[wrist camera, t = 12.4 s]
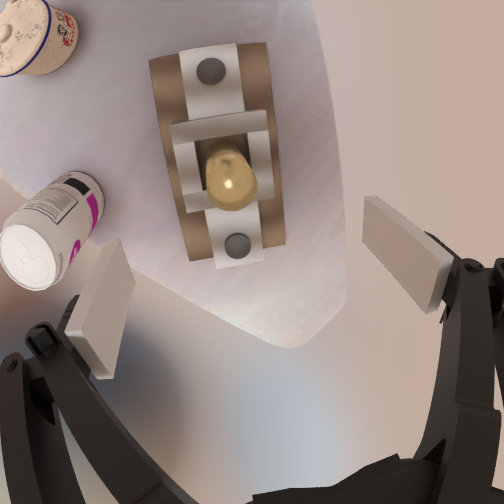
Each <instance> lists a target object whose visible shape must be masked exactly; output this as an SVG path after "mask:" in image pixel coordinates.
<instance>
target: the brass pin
mask: <svg viewBox="0 0 504 504" xmlns="http://www.w3.org/2000/svg"><path fill="white" fill-rule="evenodd" d="M205 163H206V187H207V194H208V197H209V199H210V201H211V202H212V203H213V204H214V205H215V206H216V207H217V208H219V209H221V210H224V211H238V210H241V209H244V208H245V207H247V206H248V205H249V204H251V202H252V201H253V200H254V198H255V197H256V194H257V191H258V182H257V178H256V176H255V174H254V173H253V171H252V169H251V168H250V166H249V165H248V163H247V162H246V160H245V158H244V157H243V155H242V154H241V152H240V151H239V149H238V148H237V146H236V145H235V144H234V143H232V142H230V141H228V140H219V141H216V142H214V143H212V144H211V145H210V146H209V147H208V149H207V151H206V155H205Z"/></svg>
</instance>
